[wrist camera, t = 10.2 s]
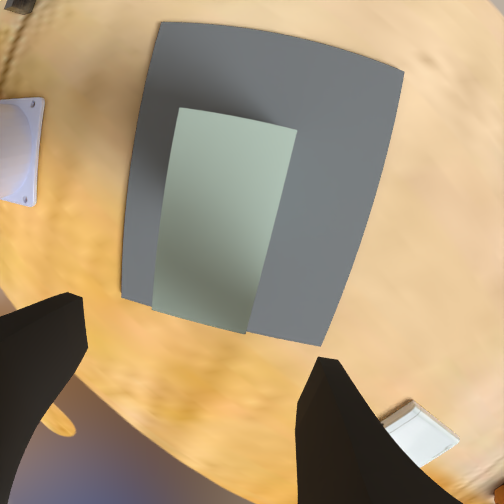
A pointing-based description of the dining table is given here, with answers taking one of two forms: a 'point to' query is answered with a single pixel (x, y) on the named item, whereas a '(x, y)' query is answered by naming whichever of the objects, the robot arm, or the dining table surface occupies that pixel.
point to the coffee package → (499, 495)
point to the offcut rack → (20, 6)
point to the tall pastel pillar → (218, 216)
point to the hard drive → (419, 433)
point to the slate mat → (300, 166)
